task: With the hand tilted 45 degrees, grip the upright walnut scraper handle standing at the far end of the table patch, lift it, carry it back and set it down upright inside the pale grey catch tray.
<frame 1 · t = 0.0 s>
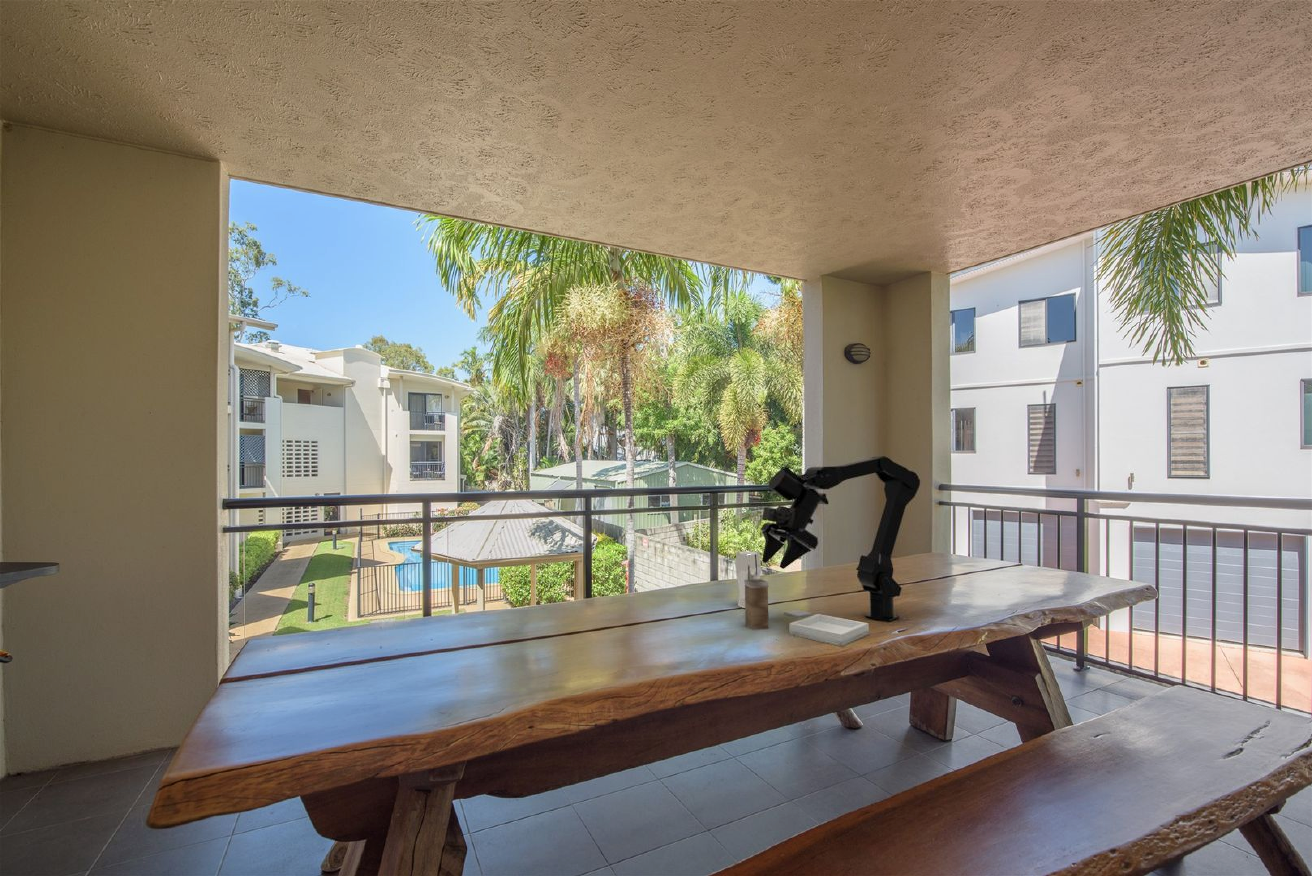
hand: (772, 565, 140), 15 cm above the table, tool tilted 35°, fingers open, 9 cm apart
scraper handle: (756, 626, 140), on the table
beer glass: (748, 607, 161), on the table
slate tile b: (797, 615, 151), on the table, touching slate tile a
catch tray: (829, 634, 133), on the table
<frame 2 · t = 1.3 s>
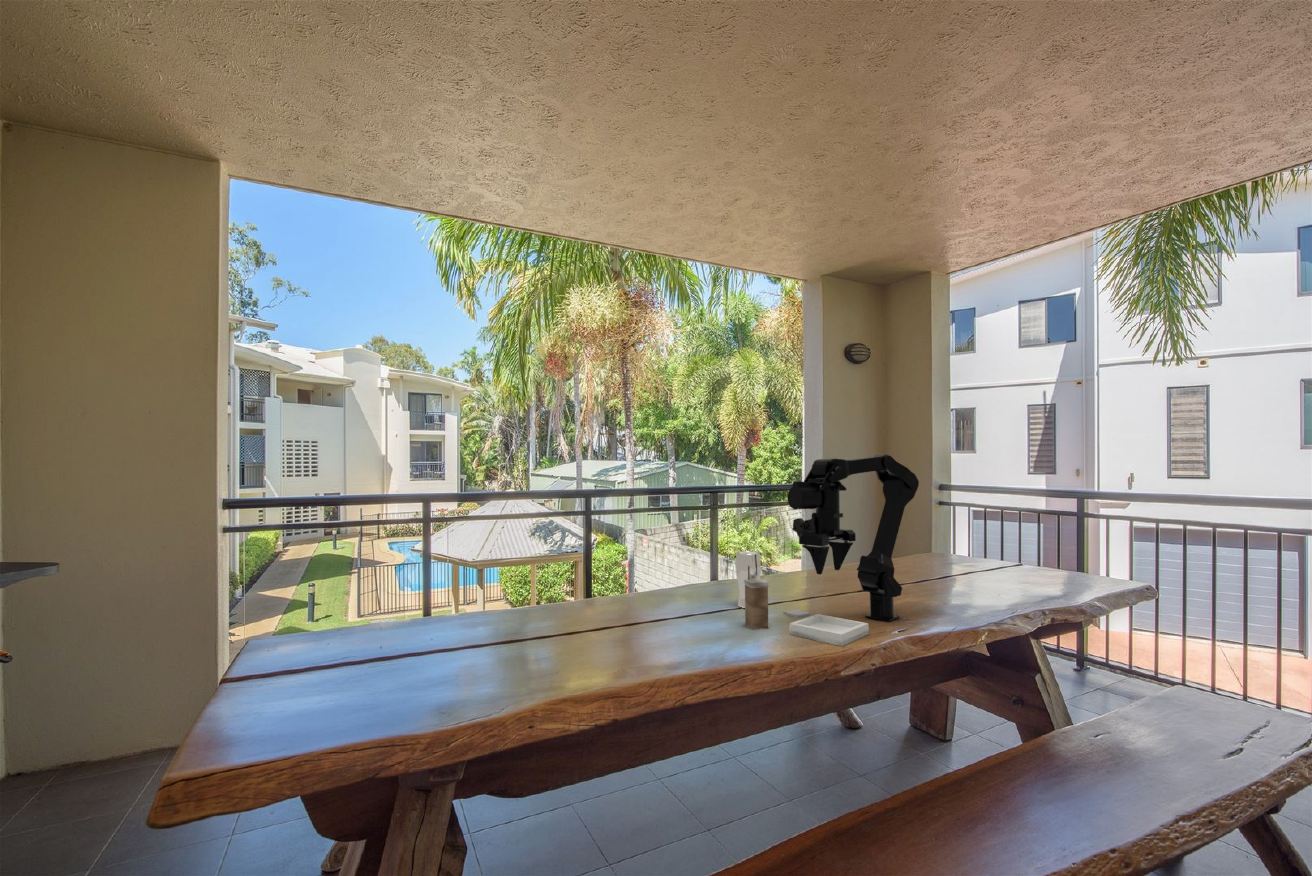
hand: (828, 572, 142), 13 cm above the table, tool pointing down, fingers open, 9 cm apart
slate tile b: (797, 615, 151), on the table
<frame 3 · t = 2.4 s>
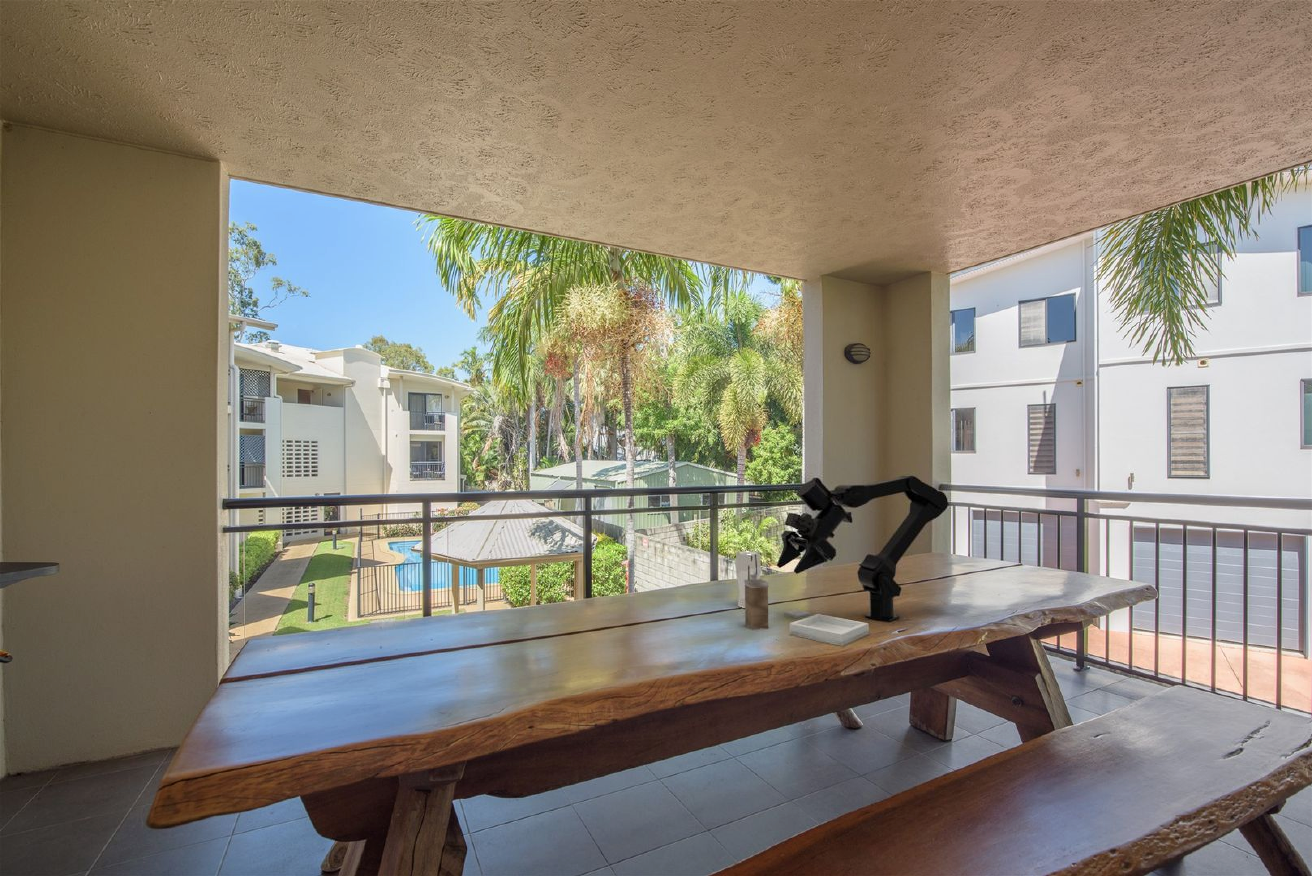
hand: (786, 569, 143), 13 cm above the table, tool tilted 45°, fingers open, 9 cm apart
slate tile b: (796, 615, 151), on the table, touching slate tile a
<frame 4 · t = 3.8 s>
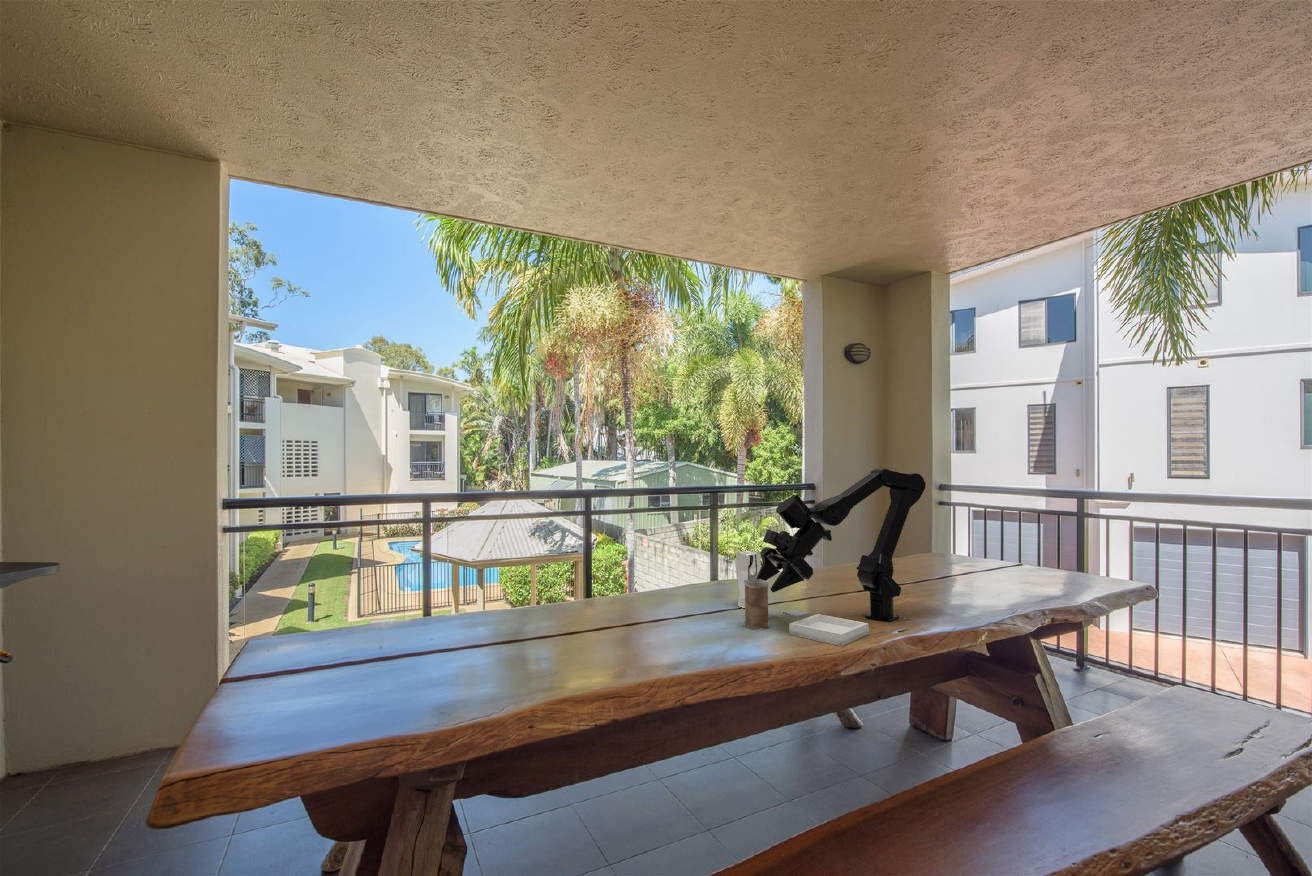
hand: (763, 587, 141), 9 cm above the table, tool tilted 45°, fingers open, 9 cm apart
nothing on the table moved.
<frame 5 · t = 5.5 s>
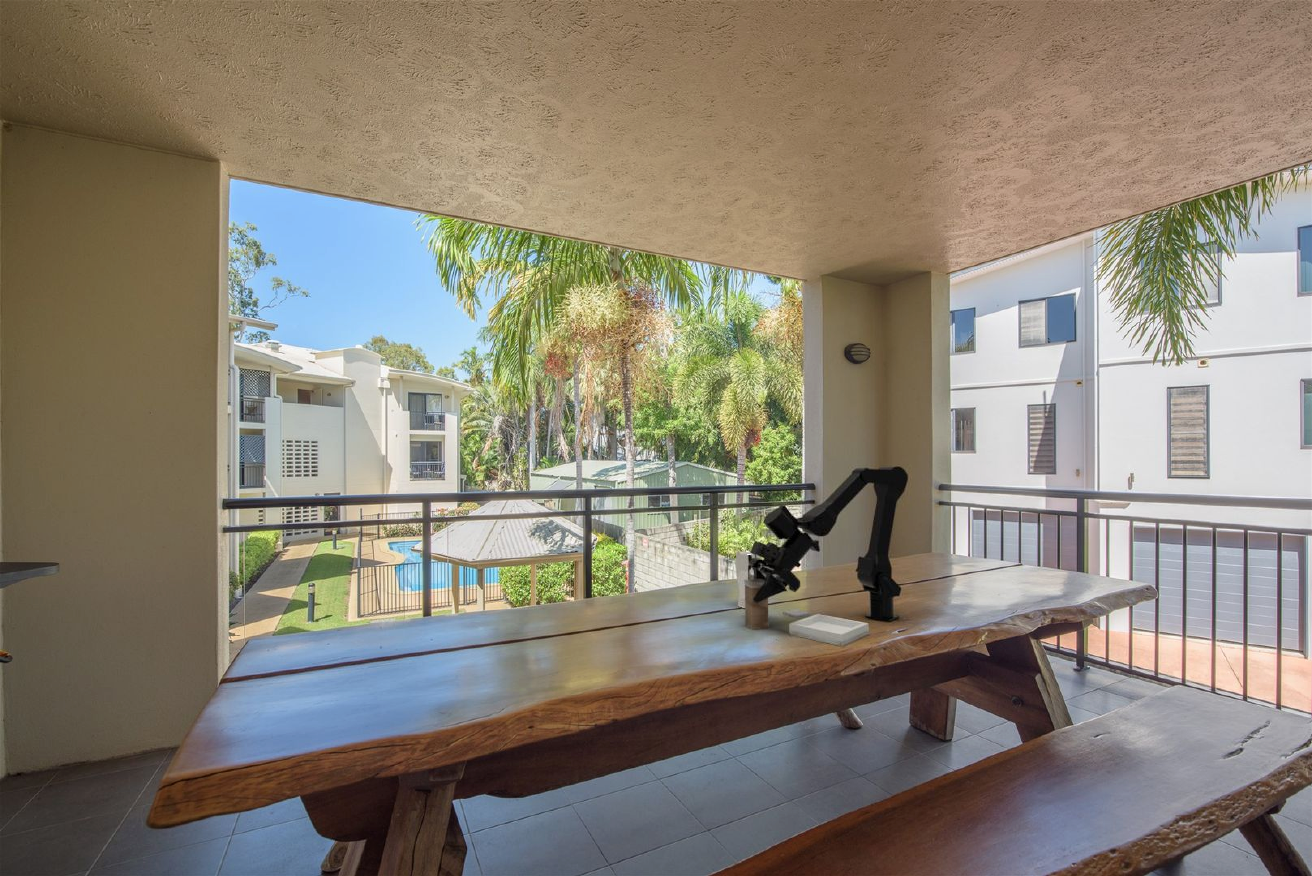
hand: (751, 599, 140), 7 cm above the table, tool tilted 45°, fingers closed on scraper handle, 4 cm apart
scraper handle: (756, 626, 140), on the table, touching gripper
everything else where it was.
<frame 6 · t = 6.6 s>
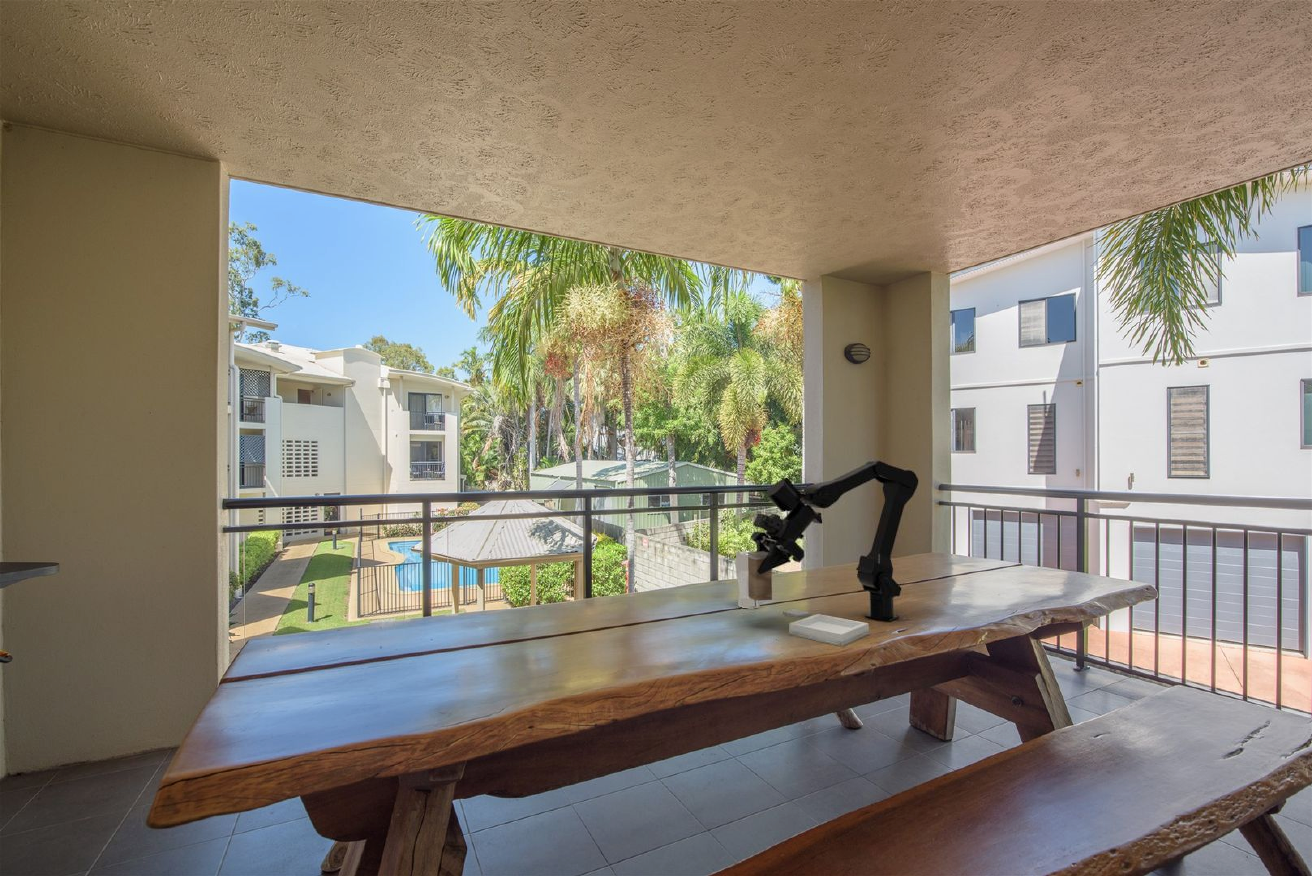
hand: (754, 571, 140), 13 cm above the table, tool tilted 45°, fingers closed on scraper handle, 4 cm apart
scraper handle: (760, 598, 140), point 7 cm above the table, touching gripper
everything else where it was.
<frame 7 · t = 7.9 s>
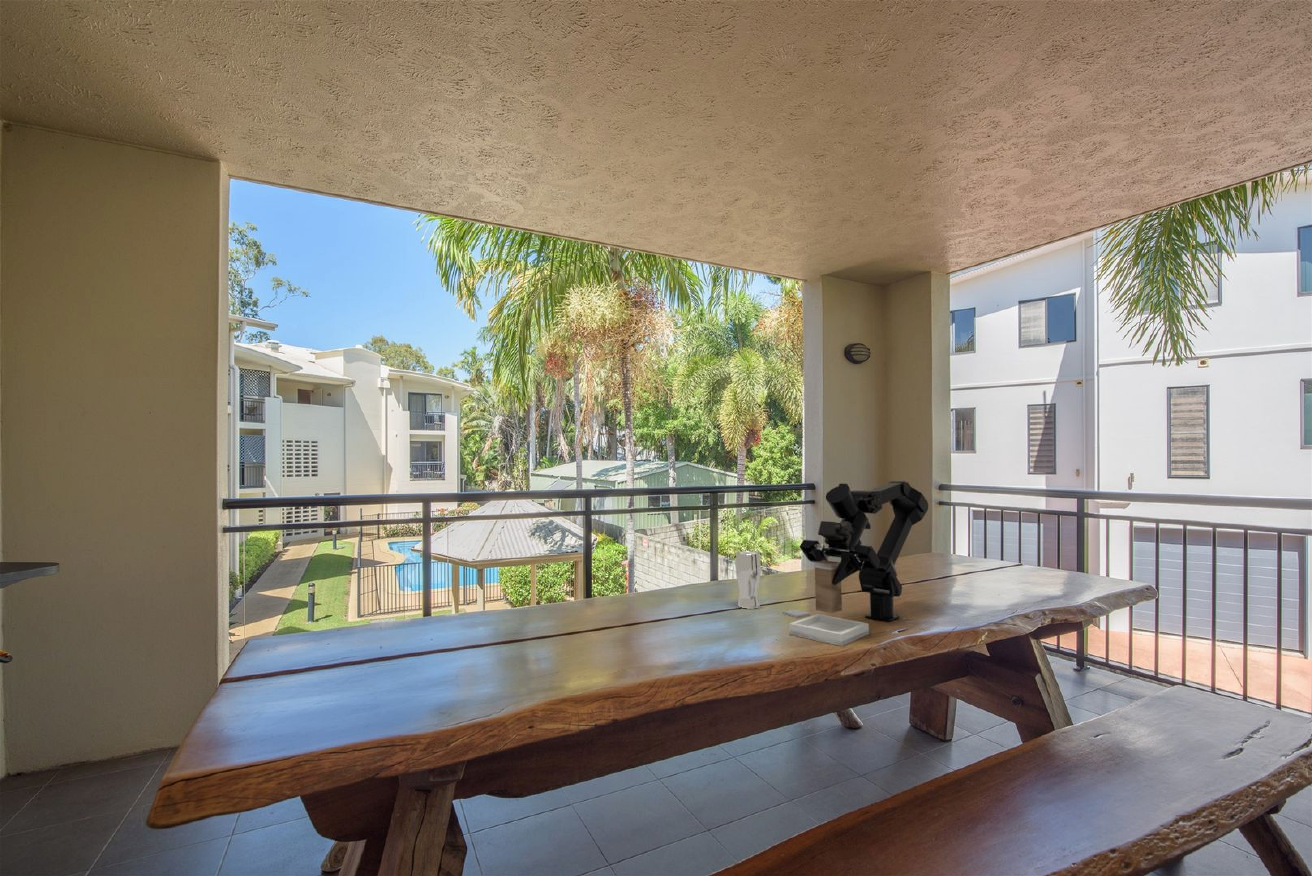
hand: (824, 582, 133), 12 cm above the table, tool tilted 45°, fingers closed on scraper handle, 4 cm apart
scraper handle: (828, 610, 133), point 6 cm above the table, touching gripper
everything else where it was.
when the fingers open (9 cm above the table, at t = 8.7 s): scraper handle drops 1 cm, resting on catch tray.
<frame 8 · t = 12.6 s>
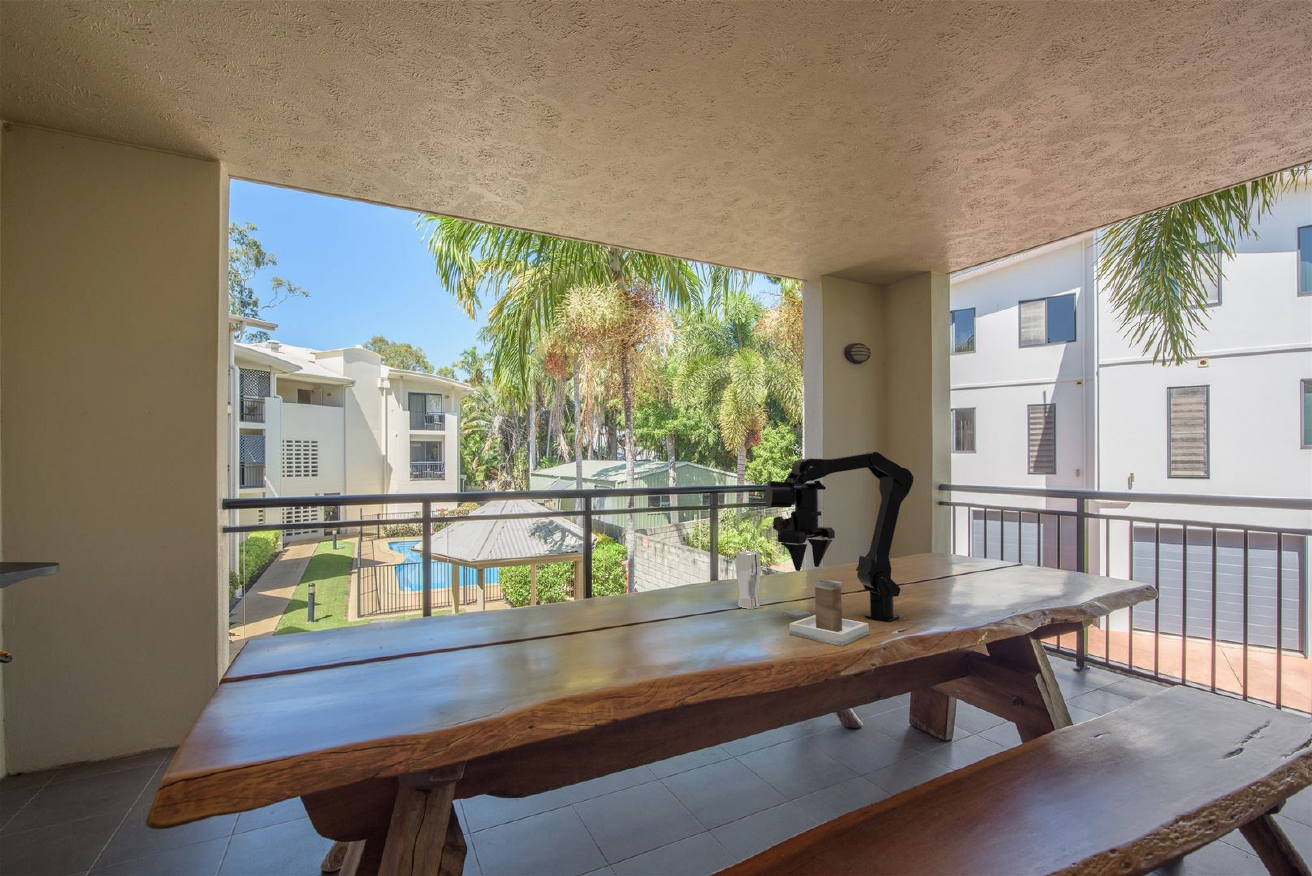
hand: (807, 568, 146), 13 cm above the table, tool pointing down, fingers open, 9 cm apart
scraper handle: (829, 630, 133), point 1 cm above the table, touching catch tray
everything else where it was.
at the end: scraper handle inside the target area on the catch tray (0.0 cm from its centre), point 1.0 cm above the catch tray's base; scraper handle tilted 0°; the gripper is holding nothing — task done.
